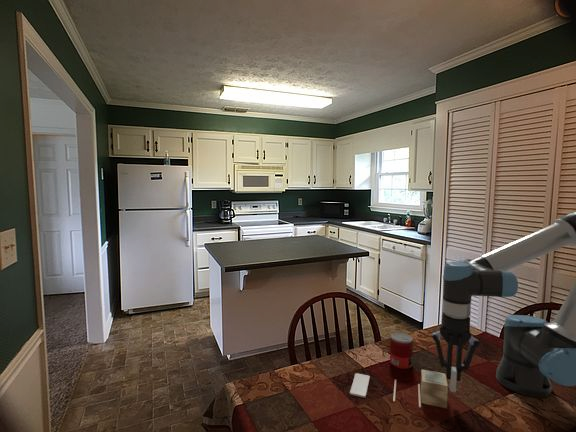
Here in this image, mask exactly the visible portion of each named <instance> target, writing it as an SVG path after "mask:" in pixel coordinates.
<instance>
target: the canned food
mask: <svg viewBox="0 0 576 432" xmlns="http://www.w3.org/2000/svg"><path fill="white" fill-rule="evenodd" d="M389 343H390V344H389V363H390V364H391V366H393V367H395V368H398V369H403V370H407V369H410V368H412V367H413V355H414V353H413V351H414V339H413V337H412V336H411V335H409V334H407V333H403V332H393V333H391V334H390V339H389Z"/></svg>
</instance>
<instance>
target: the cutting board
mask: <svg viewBox="0 0 576 432" xmlns="http://www.w3.org/2000/svg"><path fill="white" fill-rule="evenodd" d="M353 377H354V378H353V382H352V384H351V387H350V390H349V395H351V396H355V397H358V398H364V399H366V395H367V393H368V386H369V382H370V379H371V378H370V377H371V376H370V375H367V374H364V373H363V374H362V373H356V372H355V374H354V376H353ZM393 386H394V387H393V395H392V396H393V398H392V399H393V400H392V402H393V403H395V402H396V391H397V390H396V389H397V379H396V378H395V379H394V385H393ZM417 390H418V391H417V393H418V408H419V409H421V408H422V405H421V404H422V401H421V383H418V384H417Z"/></svg>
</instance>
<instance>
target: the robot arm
mask: <svg viewBox="0 0 576 432" xmlns="http://www.w3.org/2000/svg"><path fill="white" fill-rule="evenodd" d="M566 246H570V247H576V210H574V211H572V212H570V213H567V214H565V215H562V216H560V217H558V218H555V219H554V220H553V221H552V223H551V224H550V225H548V226H546V227H544V228H541V229H538V230H537V231H535V232H532V233H530V234H528V235H525V236H524V237H523V236H522V237H521V238H518V239H517V240H514V241H512V242H510V243H507V244H506V245H503V246H500V247H498V248H496V249H492V250H491V251H489V252H486V253H485V254H483V255H481V256H478V257H474V258H473V259H469V258H464V259H463V258H462V259H460V260H459V261H449V262H447V263H445V265H444V267H443V268H444V269H443V275H442V278H443V279H442V282H443V284H442V285H443V286H442V307H441V309H442V312H441V326H440V327H439V330H438V331H436V332H435V331H432V332H431V337H432V339H433V341H434V342H435V345H436V350H437V354H438V359H439V364H440V366H441V367H442V368H443V367H444V368H445V374H446V379H447V380H449V383H448V386H449V387H448V388H449V391H450V393H451V392H452V393H457V382H461V378H462V377H461V376H462V375H461V373H462V372H463V371H466V372H467V371H468V370H469V368H470V365H471V362H472V359H473V356H474V354H475V351H476V349H477V348H478V347H479V346H480V341H479V338H477V337H474V336H473V335H472V333H471V331H470V330H471V329H470V328H471V317H470V316H471V310H472V309H471V308H472V296H474V297H495V298H511V297H514V296H515V295H516V294H517V292H518V291H519V281H518V278H517V276H516V275H515V273H513V271H512V272H511V271H509V270H512V269H515V268H517V267H519V266H521V265H524V264H526V263H528V262H531V261H533V260H536V259H538V258H540V257H542V256H545V255H547V254H549V253H552V252H554V251H557V250H560V249H562V248H564V247H566ZM503 327H504V328H503V331H504V332H503V346H502V347H503V348H502V349H503V352H502V358H501V360H500V362H499V363H498V365H497V368H496V374H495V378H496V380H497V381H498V382H499V384H500V385H502V386H503V387H505V388H507V389H508V390H510V391H513V392H515V393H517V394H520V395H523V396H527V397H532V398H546V397H549V396H550V395H551V394H552V381H553V382H554V383H556V384H558V385H560V386H564V387H575V386H576V280H575V281H574V282H573V285H572V287H571V288H570V290H569V292H568V294H567V296H566V298H565V299H564V301H563V302H562V305H561V306H560V309H559V310H558V311H557V313H556V315H555V318H554V319H553V321H552V322H548V321H547V320H545V319H543V318H540V317H536V316H532V315H524V314H522V315H521V314H512V315H508V316H506V317H505V319H504V324H503ZM441 337H442V339H444V341H445V342H446V360H445V358H444V354H443V349H442V345H441V342H440V340H441ZM467 342H469V344H468V347H467V349H466V352H465V355H464V359H462V357H463V346H464V345H465V344H466V343H467ZM454 346H455V347H456V348H455V353H456V354H455V366H453V364H452V363H453V349H454Z"/></svg>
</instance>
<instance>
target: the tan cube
mask: <svg viewBox="0 0 576 432" xmlns="http://www.w3.org/2000/svg"><path fill="white" fill-rule="evenodd" d="M420 371H421V374H420V400H421V404H424V405H429V406H433V407H438V408H443V409H448V393H449V392H448V389H449V387H448V386H449V384H448V379H447V377H446V372H445V373H444V372H443V373H442V372H438V371H432V370H428V369H421V370H420Z"/></svg>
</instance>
